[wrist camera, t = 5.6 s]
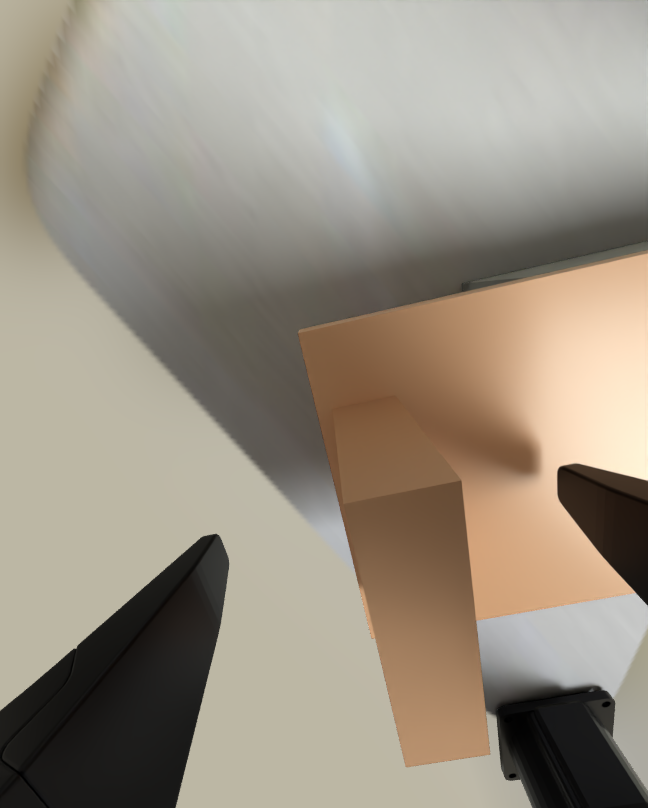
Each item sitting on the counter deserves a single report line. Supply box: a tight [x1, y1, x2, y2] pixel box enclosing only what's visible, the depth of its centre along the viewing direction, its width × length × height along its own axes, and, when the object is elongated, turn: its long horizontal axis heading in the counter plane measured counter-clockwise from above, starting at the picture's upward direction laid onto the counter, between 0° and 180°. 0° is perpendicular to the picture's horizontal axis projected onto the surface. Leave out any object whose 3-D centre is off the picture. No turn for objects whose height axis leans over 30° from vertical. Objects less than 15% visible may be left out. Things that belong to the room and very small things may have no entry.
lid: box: [298, 250, 648, 767], centre depth 7 cm, size 10×10×5 cm
